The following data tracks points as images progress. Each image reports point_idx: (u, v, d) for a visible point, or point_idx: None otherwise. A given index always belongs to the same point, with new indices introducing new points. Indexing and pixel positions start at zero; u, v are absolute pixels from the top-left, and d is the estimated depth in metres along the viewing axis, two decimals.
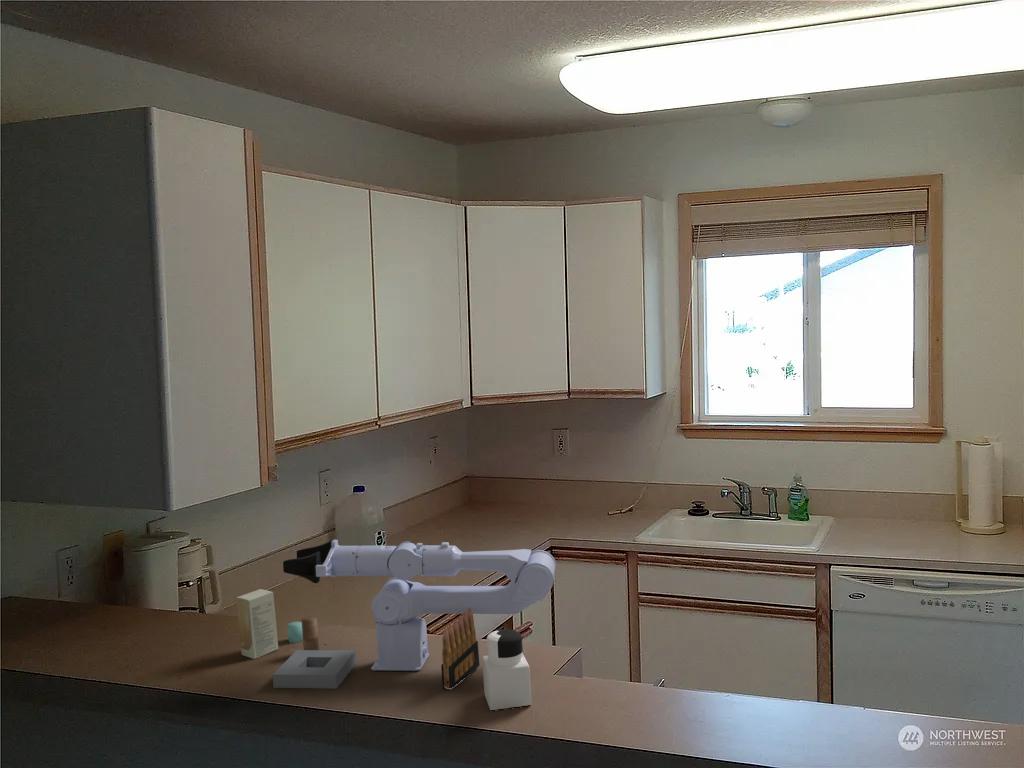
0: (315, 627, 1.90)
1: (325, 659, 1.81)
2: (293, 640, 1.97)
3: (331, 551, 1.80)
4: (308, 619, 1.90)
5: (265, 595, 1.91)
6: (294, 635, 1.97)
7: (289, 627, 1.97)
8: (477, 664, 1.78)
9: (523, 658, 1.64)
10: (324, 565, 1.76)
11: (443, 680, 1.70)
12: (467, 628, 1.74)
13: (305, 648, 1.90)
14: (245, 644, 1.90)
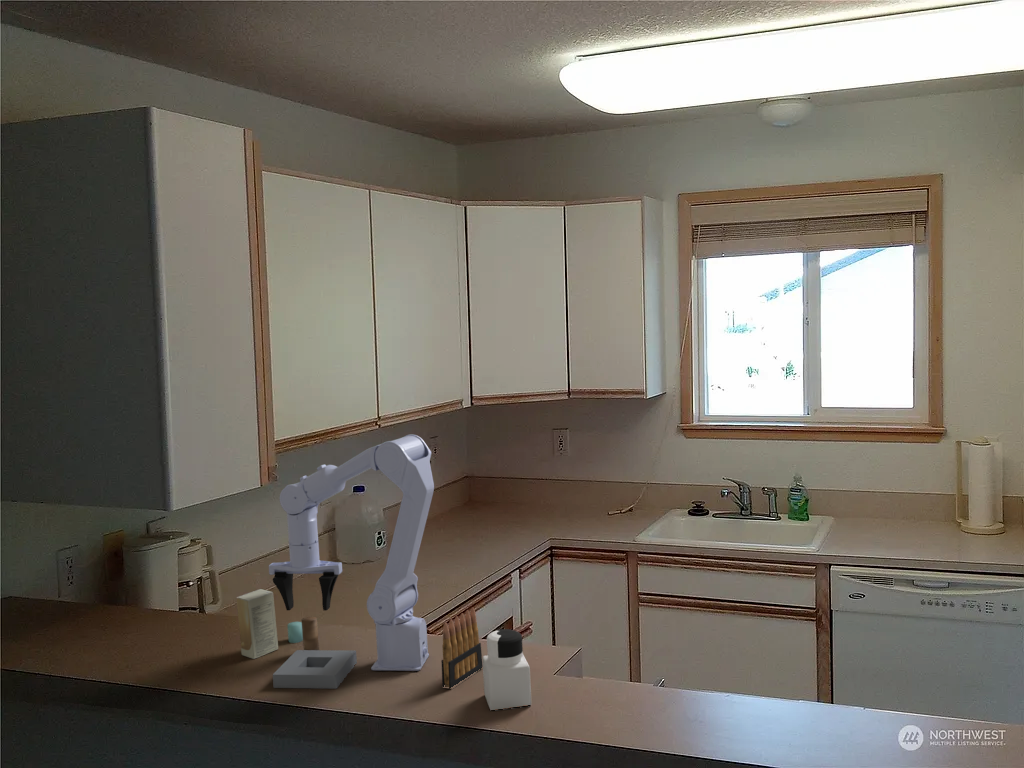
0: (315, 627, 1.90)
1: (325, 659, 1.81)
2: (293, 640, 1.97)
3: None
4: (308, 619, 1.90)
5: (265, 595, 1.91)
6: (294, 635, 1.97)
7: (289, 627, 1.97)
8: (480, 667, 1.78)
9: (523, 658, 1.64)
10: None
11: (443, 676, 1.70)
12: (469, 627, 1.75)
13: (305, 648, 1.90)
14: (245, 644, 1.90)
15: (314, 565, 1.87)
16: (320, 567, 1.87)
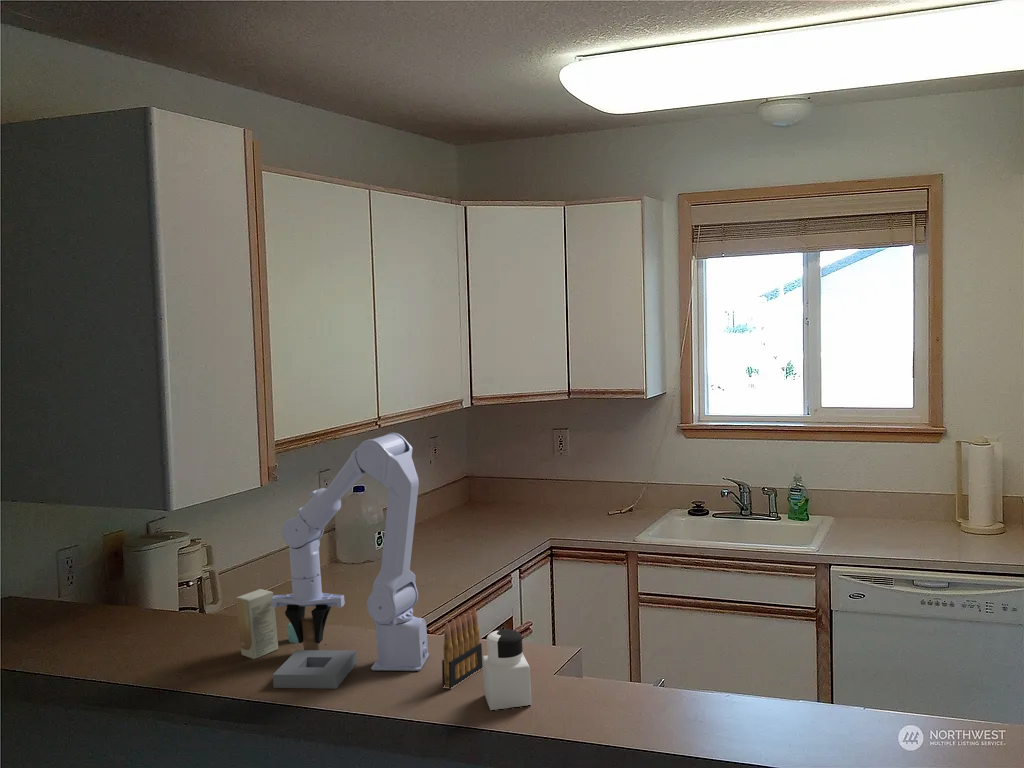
0: None
1: (325, 659, 1.81)
2: (293, 640, 1.97)
3: None
4: (308, 619, 1.90)
5: (265, 595, 1.91)
6: (294, 635, 1.97)
7: (289, 627, 1.97)
8: (480, 667, 1.78)
9: (523, 658, 1.64)
10: None
11: (443, 676, 1.70)
12: (470, 627, 1.75)
13: (305, 648, 1.90)
14: (245, 644, 1.90)
15: (316, 598, 1.88)
16: (322, 600, 1.88)
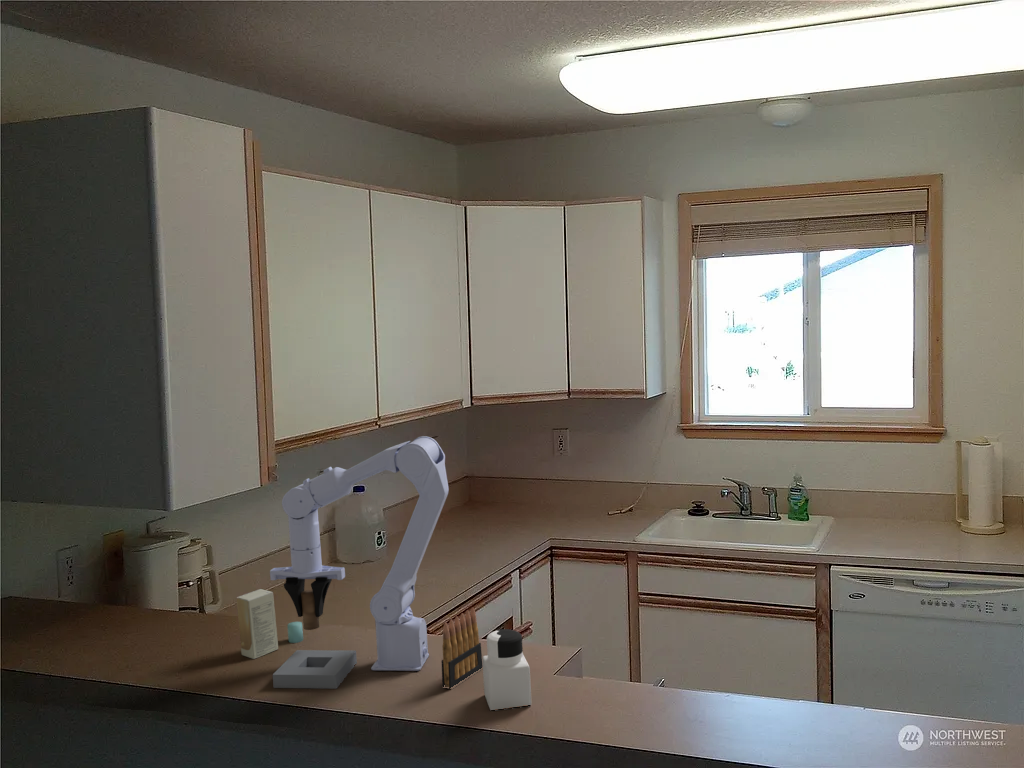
0: None
1: (325, 659, 1.81)
2: (293, 640, 1.97)
3: None
4: (308, 592, 1.85)
5: (265, 595, 1.91)
6: (294, 635, 1.97)
7: (289, 627, 1.97)
8: (480, 667, 1.78)
9: (523, 658, 1.64)
10: None
11: (443, 676, 1.70)
12: (469, 627, 1.75)
13: (305, 622, 1.84)
14: (245, 644, 1.90)
15: (316, 570, 1.83)
16: (322, 572, 1.82)
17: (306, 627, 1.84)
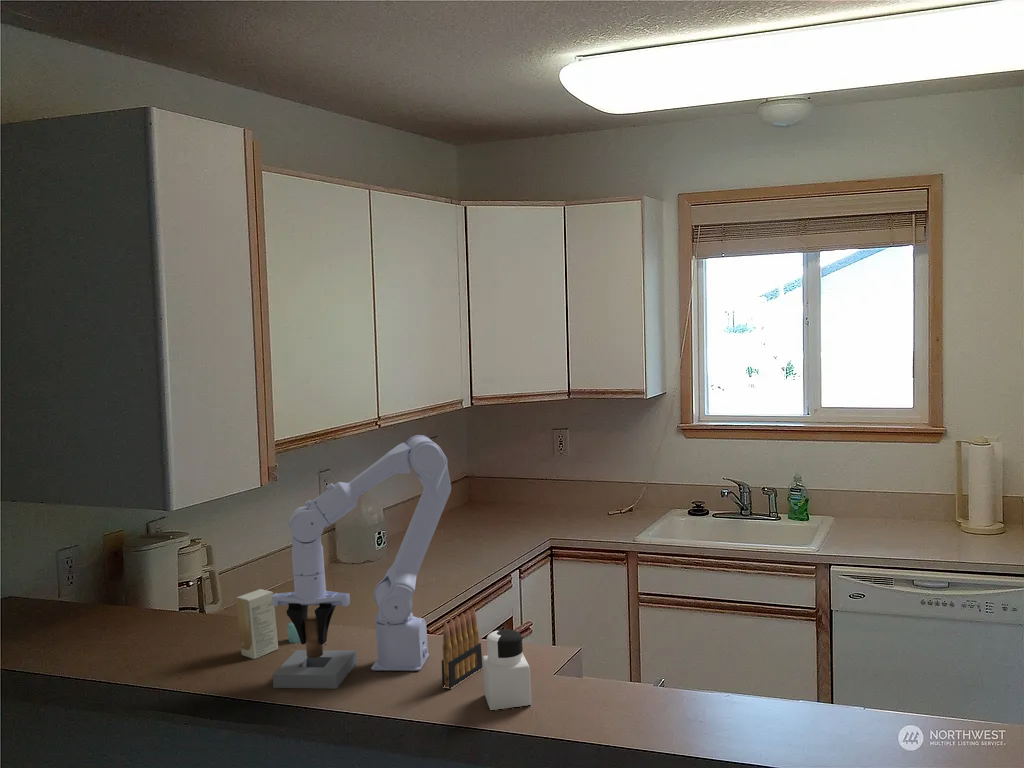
0: None
1: (325, 659, 1.81)
2: (293, 640, 1.97)
3: None
4: (311, 619, 1.78)
5: (265, 595, 1.91)
6: (294, 635, 1.97)
7: (289, 627, 1.97)
8: (480, 667, 1.78)
9: (523, 658, 1.64)
10: None
11: (443, 676, 1.70)
12: (469, 627, 1.75)
13: (308, 650, 1.78)
14: (245, 644, 1.90)
15: (320, 596, 1.76)
16: (327, 599, 1.76)
17: (310, 655, 1.78)
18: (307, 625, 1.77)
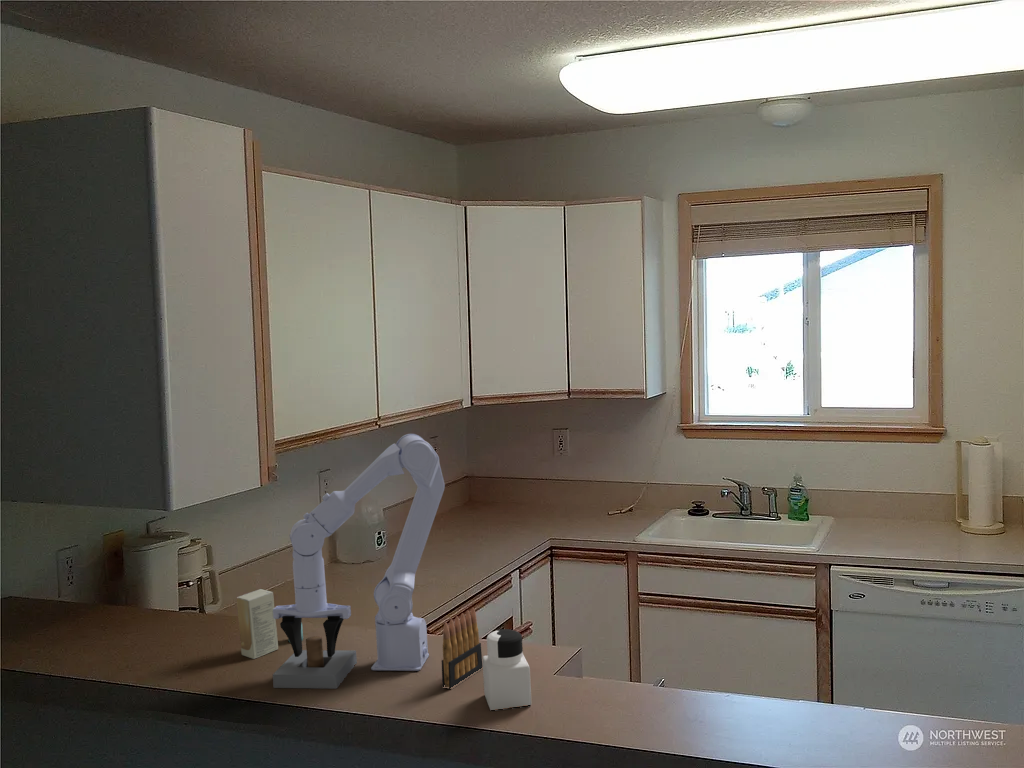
0: (320, 647, 1.78)
1: (325, 659, 1.81)
2: None
3: None
4: (313, 639, 1.79)
5: (265, 595, 1.91)
6: None
7: None
8: (480, 667, 1.78)
9: (523, 658, 1.64)
10: None
11: (443, 676, 1.70)
12: (469, 627, 1.75)
13: None
14: (245, 644, 1.90)
15: (321, 609, 1.76)
16: (327, 611, 1.76)
17: None
18: (309, 645, 1.78)
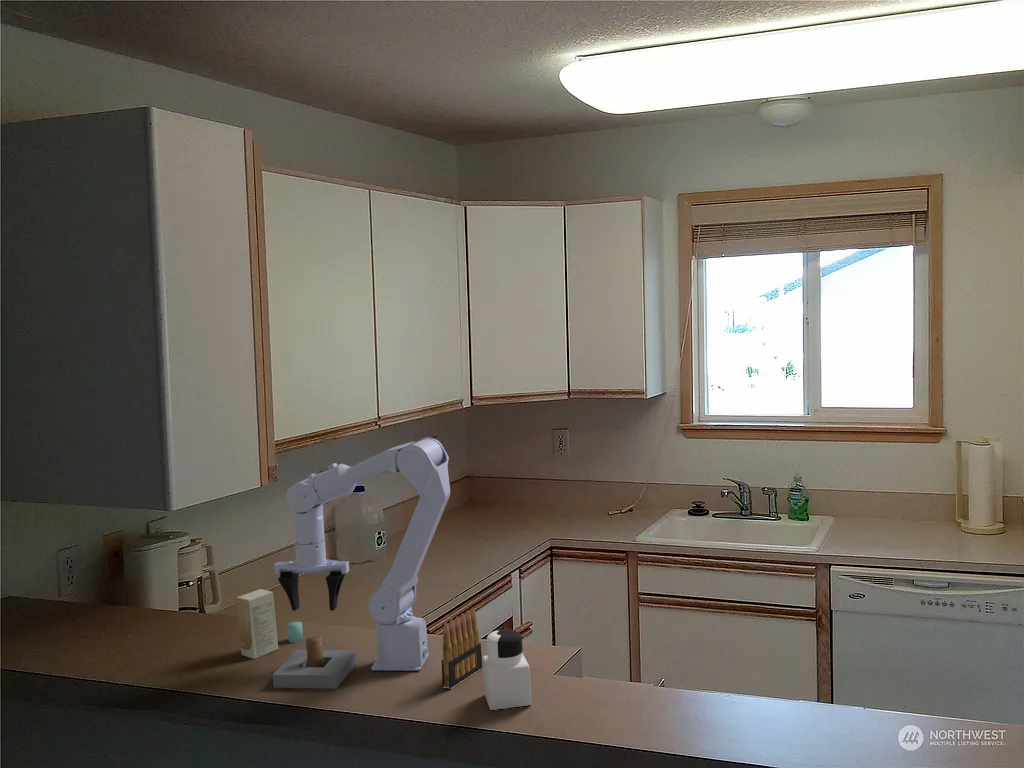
0: (321, 647, 1.78)
1: (325, 659, 1.81)
2: (293, 640, 1.97)
3: None
4: (313, 639, 1.79)
5: (265, 595, 1.91)
6: (294, 635, 1.97)
7: (289, 627, 1.97)
8: (480, 667, 1.78)
9: (523, 658, 1.64)
10: None
11: (443, 676, 1.70)
12: (469, 627, 1.75)
13: None
14: (245, 644, 1.90)
15: (321, 564, 1.84)
16: (327, 566, 1.84)
17: None
18: (309, 645, 1.78)
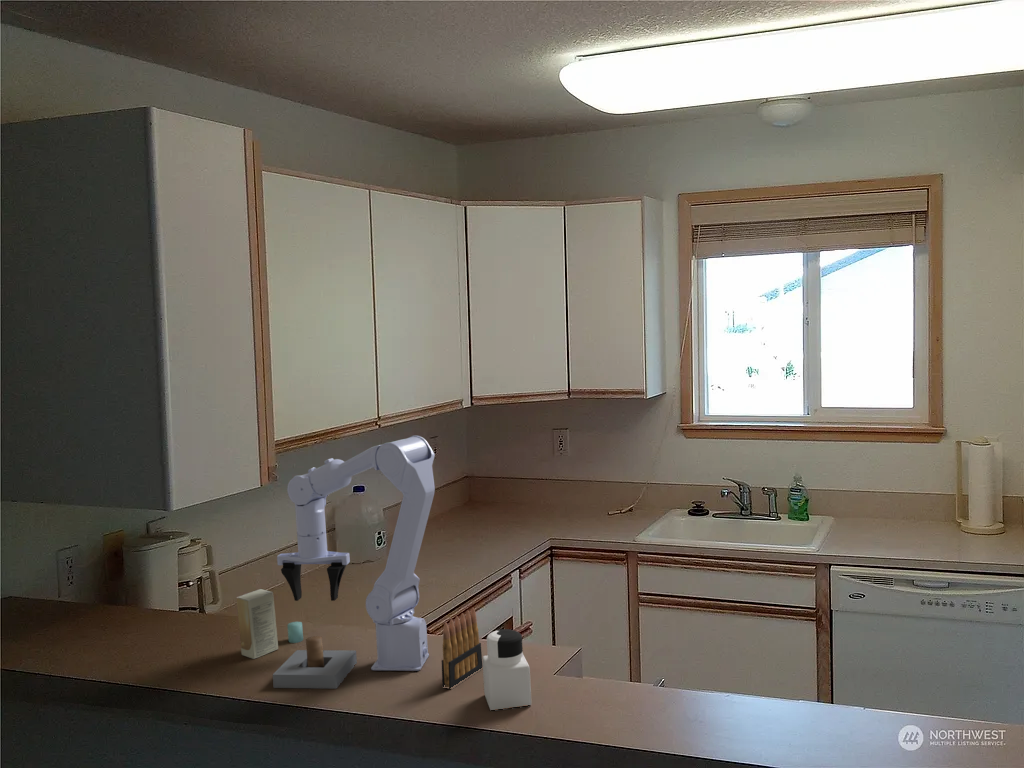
0: (321, 647, 1.78)
1: (325, 659, 1.81)
2: (293, 640, 1.97)
3: None
4: (313, 639, 1.79)
5: (265, 595, 1.91)
6: (294, 635, 1.97)
7: (289, 627, 1.97)
8: (480, 667, 1.78)
9: (523, 658, 1.64)
10: None
11: (443, 676, 1.70)
12: (469, 627, 1.75)
13: None
14: (245, 644, 1.90)
15: (322, 556, 1.89)
16: (328, 557, 1.89)
17: None
18: (309, 645, 1.78)
